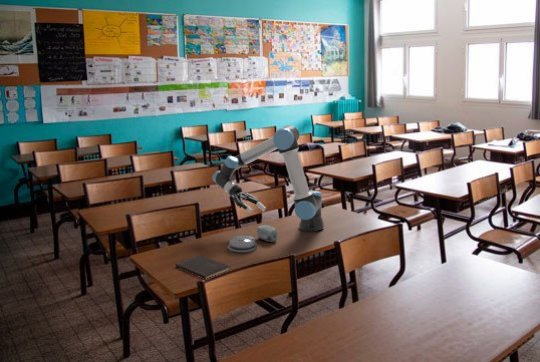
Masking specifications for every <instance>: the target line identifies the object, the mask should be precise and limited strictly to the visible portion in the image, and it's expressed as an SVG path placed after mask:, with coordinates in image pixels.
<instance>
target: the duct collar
mask: <svg viewBox="0 0 540 362" xmlns="http://www.w3.org/2000/svg"><path fill="white" fill-rule="evenodd" d="M227 249H228V251H229V252H231V253H234V254H235V253H237V254H249V253H252V252H255V251H256V250H257V249H258V243H256V238H255V237H253V236H251V235H236V236H233V237H231V238H230V239H229V244H228V245H227Z"/></svg>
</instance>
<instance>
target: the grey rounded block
mask: <svg viewBox="0 0 540 362" xmlns="http://www.w3.org/2000/svg"><path fill="white" fill-rule="evenodd" d="M256 229H257V230H256V234H257V237H258V238H259V239H260V240H262V241H265V242H270V243H275V242H276V241H277V240H278V232H277V230H276V228H274V227H272V226H270V225H267V224H266V225H265V224H263V225H260V226H258V227H257V228H256Z"/></svg>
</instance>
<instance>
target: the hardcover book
mask: <svg viewBox="0 0 540 362" xmlns="http://www.w3.org/2000/svg"><path fill="white" fill-rule="evenodd" d="M175 266H176V267H179V268H181V269H183V270H186V271H188V272H190V273H193V274H195V275H197V276H200V277H202V278H204V279H206V280H208V279H210V278H209V277H211V278H213V277H215V275H216V276H217V275H220V274H223V273H225V272H228V271H230V267H231V266H230V265H227V264H225V263H222V262H219V261H217V260H214V259H212V258H209V257H207V256H204V255H201V254H199V255H196V256H193V257H190V258H188V259H185V260H182V261H179V262H176V263H175ZM176 267H175V268H176ZM179 268H178V269H179ZM181 269H180V270H181ZM183 270H182V271H183ZM186 271H185V272H186ZM188 272H187V273H188ZM190 273H189V274H190ZM193 274H192V275H193ZM195 275H194V276H195ZM197 276H196V277H197ZM212 276H213V277H212ZM200 277H199V278H200ZM202 278H201V279H202ZM207 278H208V279H207ZM204 279H203V280H204Z"/></svg>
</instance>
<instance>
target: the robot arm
mask: <svg viewBox="0 0 540 362" xmlns="http://www.w3.org/2000/svg"><path fill="white" fill-rule="evenodd" d="M299 139H300V132H299V130H298V128H297V127H296V126H294V125H290V124H289V125H284V126H283V127H281V128H278V129H277V130H276V131H275V132H274V134H273V136H271V137H270V138H268V139H266V140H264V141H262V142H259V143H258V144H257V145H255V146H253V147H251V148H248V149H247V150H245V151H243V152H241V153H239V154H238V155H235V156H232V155H228V156H227V157H226V159H225V160H224V163H223V165H222V166H221V169H220V170H217V171H215V172H214V174H213V175H212V180H213V182H214V183H215V185H218V186H219V188H220V189H222V190H224V192H225V193H227V194H228V195H229V196H230V198H231V199H232V200H233V201H234V203H235V205H236V206H237V207H238V208H240V209H243V210H245V212H247V213H248V214H249V215H250V214H251V213H252V212H253V209H252V208H251V207H250V206H249V205H247V203H244V201H245V202H246V201H247V202H250V203H251V204H253V205H255V206H256V207H257V208H259V209H260V210H261V211H262V212H265V211H266V209H267V207H266V206H264V204H263V203H261V202H260V201H261V200H260V199H258V198H257V197H255V196H253V194H250V193H248V192H246V191H245V192H243V188H242V187H240V186H239V185H238V184H237V183H236V182H234V181H233V180H232V177H233V174H234V172H236V170H239V169H241V168H243V167H244V166H246V165H247V164H250V163H252V162H254V161H256V160H258V159H259V158H262V157H263V156H265V155H268V154H269V153H272V152H273V151H276V150H278V153H279V155H281V156H282V157H283V160H284V164H285V166H286V170H287V174H288V177H289V181H290V184H291V186H292V190H293V193H294V196H293V202H294V213H295V215H296V217H297V218H299V219H300V221H299V223H298V228H299V230H301V229H302V230H301V231H303V230H305V231H304V232H308V231H316V232H319V231H318V230H321V229H323V228H324V229H325V224H324V220H323V217H322V204H323V203H322V202H323V201H322V199H323V197H322V192H321V191H318V190H310V188H309V186H308V182H307V178H306V176H305V173H304V168H303V165H302V162H301V158H300V155H299V152H298V151H299V148H300V146H299ZM324 229H323V230H324ZM321 231H322V230H321Z"/></svg>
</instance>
